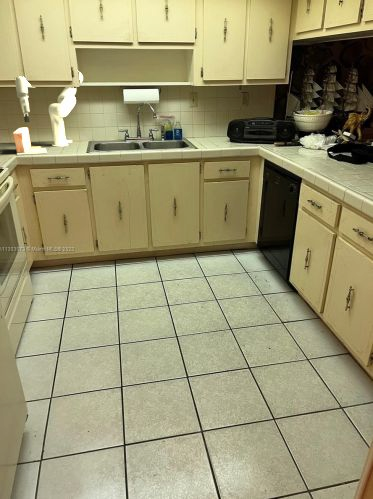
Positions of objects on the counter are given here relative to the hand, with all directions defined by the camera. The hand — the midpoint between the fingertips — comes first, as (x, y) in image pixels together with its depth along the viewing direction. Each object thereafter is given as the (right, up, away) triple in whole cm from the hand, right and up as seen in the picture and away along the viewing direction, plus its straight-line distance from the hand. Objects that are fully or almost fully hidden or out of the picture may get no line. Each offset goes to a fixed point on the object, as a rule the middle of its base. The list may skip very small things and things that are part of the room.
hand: (27, 122), depth 272 cm
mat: (+4, -23, -2) cm, 23 cm away
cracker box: (-3, -9, +6) cm, 11 cm away
